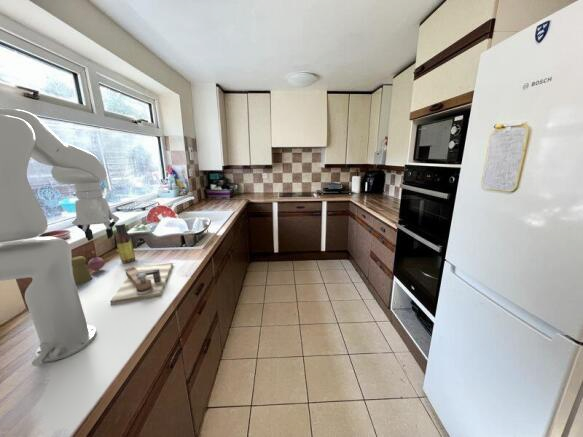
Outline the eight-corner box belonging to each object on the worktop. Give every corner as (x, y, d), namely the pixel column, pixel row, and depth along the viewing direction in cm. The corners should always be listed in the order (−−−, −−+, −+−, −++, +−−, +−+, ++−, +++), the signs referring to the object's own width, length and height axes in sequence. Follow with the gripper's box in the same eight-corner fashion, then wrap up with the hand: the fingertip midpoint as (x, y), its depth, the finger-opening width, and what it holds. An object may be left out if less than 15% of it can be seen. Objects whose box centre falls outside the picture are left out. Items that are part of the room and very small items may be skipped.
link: (153, 287, 90) (151, 274, 89) (139, 293, 87) (136, 279, 85) (136, 271, 105) (134, 259, 103) (123, 275, 101) (120, 263, 100)
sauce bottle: (138, 260, 122) (130, 223, 117) (124, 264, 117) (116, 226, 112) (131, 257, 125) (124, 221, 120) (118, 261, 120) (110, 224, 115)
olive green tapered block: (81, 284, 98) (74, 260, 96) (70, 283, 100) (63, 259, 97) (95, 277, 104) (89, 254, 101) (84, 276, 105) (78, 254, 102)
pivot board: (160, 296, 89) (157, 281, 87) (110, 304, 84) (107, 289, 83) (172, 265, 115) (170, 253, 113) (135, 270, 110) (132, 258, 108)
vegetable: (105, 266, 115) (100, 247, 112) (107, 270, 111) (102, 251, 108) (89, 271, 111) (84, 251, 108) (90, 275, 106) (85, 255, 104)
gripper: (56, 198, 85) (69, 244, 90) (112, 194, 90) (121, 239, 95) (68, 195, 92) (80, 238, 97) (119, 192, 97) (128, 233, 102)
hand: (100, 238), depth 96 cm, fingers open, 6 cm apart
